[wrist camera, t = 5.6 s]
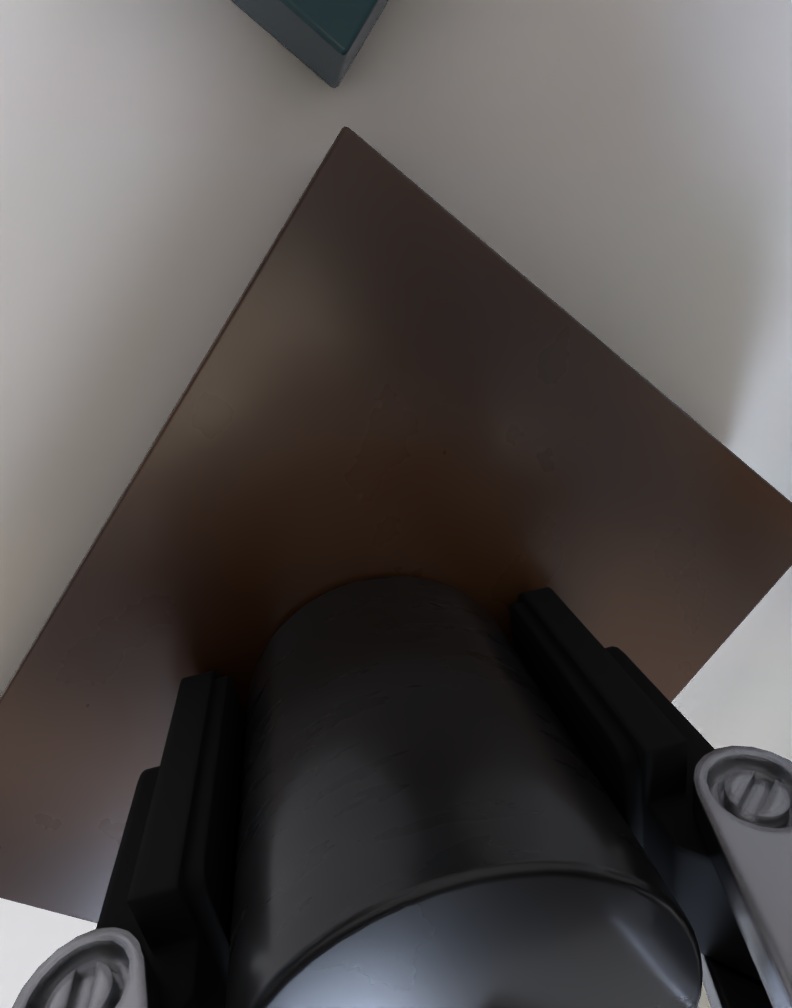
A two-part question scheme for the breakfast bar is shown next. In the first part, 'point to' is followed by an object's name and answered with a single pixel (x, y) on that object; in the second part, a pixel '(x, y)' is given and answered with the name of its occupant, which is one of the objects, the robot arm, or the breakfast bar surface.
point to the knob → (433, 827)
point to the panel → (369, 502)
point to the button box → (318, 30)
